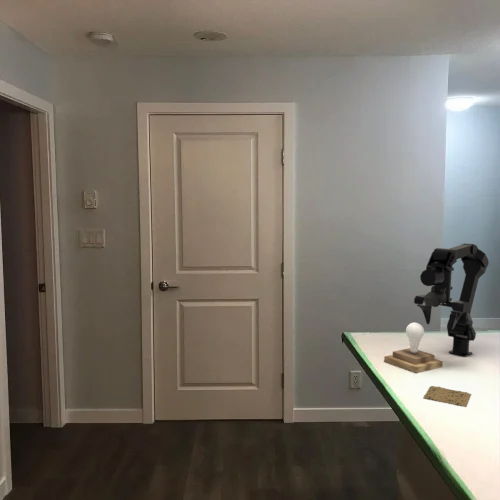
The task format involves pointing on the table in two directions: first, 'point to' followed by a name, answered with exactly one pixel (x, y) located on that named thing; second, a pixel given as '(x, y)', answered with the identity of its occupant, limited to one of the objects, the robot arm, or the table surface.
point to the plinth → (411, 366)
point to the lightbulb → (414, 335)
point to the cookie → (447, 396)
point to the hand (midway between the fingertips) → (439, 326)
